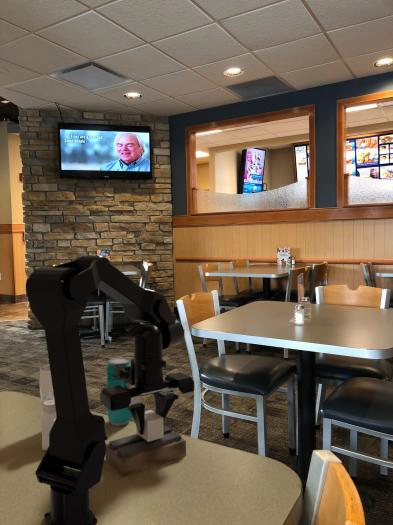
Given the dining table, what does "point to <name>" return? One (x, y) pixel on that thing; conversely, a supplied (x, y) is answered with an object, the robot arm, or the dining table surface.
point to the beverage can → (124, 414)
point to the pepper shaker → (47, 421)
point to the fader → (152, 426)
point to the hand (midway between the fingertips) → (149, 431)
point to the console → (144, 451)
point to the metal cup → (45, 384)
